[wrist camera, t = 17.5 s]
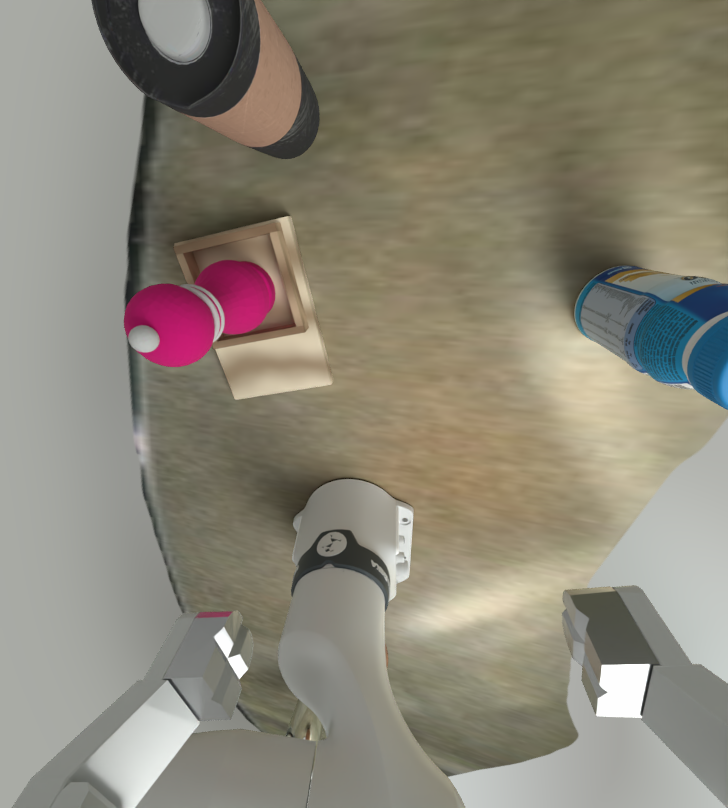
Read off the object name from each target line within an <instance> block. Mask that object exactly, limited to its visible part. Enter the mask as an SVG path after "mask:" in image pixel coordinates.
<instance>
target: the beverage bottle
mask: <svg viewBox="0 0 728 808" xmlns="http://www.w3.org/2000/svg"><path fill="white" fill-rule="evenodd" d="M574 317H575V322H576V325H577V327H578V329H579V330H580V332H581V333H582V334H583V335H584V336H586V337H587V338H589V339H590V340H592V341H594V342H596V343H598V344H600V345H601V346H603V347H604V348H606V349H608V350H609V351H611V352H612V353H614V354H615V355H617V356H619V357H620V358H622V359H623V360H625V361H626V362H627V363H628V364H629V365H630V366H631V367H633V368H634V369H636V370H637V371H639V372H641V373H643V374H646V375H649V376H651V377H652V378H653V379H655V380H656V381H658V382H660V383H662V384H665V385H668V386H671V387H676V388H681V389H695V390H696V391H697V392H698V393H700V394H701V395H703V396H704V397H706V398H707V399H709V400H711V401H713V402H714V403H716V404H718V405H720V406H721V407H723V408H725V409H728V284H722V283H720V282H718V281H715V280H712V279H708V278H704V277H696V276H680V275H674V274H669V273H663V272H658V271H653V270H648V269H643V268H640V267H635V266H618V267H613V268H610V269H608V270H605V271H603V272H601V273H600V274H598V275H597V276H595V277H594V278H593V279H591V280H590V281H589V282H588V283H587V284H586V286H585V287H584V288H583V289H582V291H581V293H580V294H579V296H578V298H577V301H576V304H575V310H574Z"/></svg>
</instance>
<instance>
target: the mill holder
mask: <svg viewBox="0 0 728 808" xmlns="http://www.w3.org/2000/svg"><path fill="white" fill-rule="evenodd" d="M174 245H175V246H174V247H173V248H174V251H175V253H176V256H177V259H178V261H179V264H180V266H181V269H182V271H183V274H184V276H185V279H186V281H187V284H193V285H194V284H195V281H196V279H197V278H198V276H199V275H200V273H201V272H202V271H203V270H204V269H205V268H206V267H208V266H209V265H211V264H213V263H215V262H218V261H221V260H235V261H239V262H241V261H247V262H252V263H254V264H257V265H258V266H260V267H261V268H263V269H264V270H265V271H266V272H267V273H268V274H269V276H270V277H271V279H272V281H273V283H274V286H275V292H276V295H275V302H274V305H273V307H272V309H271V310H270V311H269V313H267V315H266V317H265V319H264V320H263V322H262V323H261V324H260V325H259V326H258V327H256V328H255V329H253V330H251V331H248V332H246V333H243V334H225V333H222V334H221V335H220V337H219V338H218V339H217V340H216V341H214V342H213V343H212V347H213V349H215V350H216V352H217V355H218V357H219V360H220V362H221V365H222V367H223V370H224V373H225V375H226V378H227V380H228V383H229V385H230V388H231V390H232V393H233V396H234V398H235V400H238V399H244V398H250V397H256V396H263V395H269V394H275V393H281V392H288V391H294V390H300V389H306V388H313V387H319V386H325V385H331V384H332V382H333V376H332V372H331V368H330V364H329V361H328V357H327V353H326V349H325V345H324V341H323V337H322V334H321V330H320V326H319V322H318V318H317V314H316V310H315V306H314V303H313V299H312V295H311V291H310V287H309V283H308V279H307V276H306V272H305V268H304V264H303V260H302V256H301V252H300V248H299V245H298V241H297V237H296V233H295V229H294V225H293V221H292V218H291V216H286V217H282V218H278V219H273V220H269V221H265V222H261V223H257V224H253V225H249V226H244V227H240V228H236V229H232V230H228V231H224V232H220V233H215V234H211V235H207V236H203V237H199V238H195V239H191V240H186V241H182V242H178V243H174Z"/></svg>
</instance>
